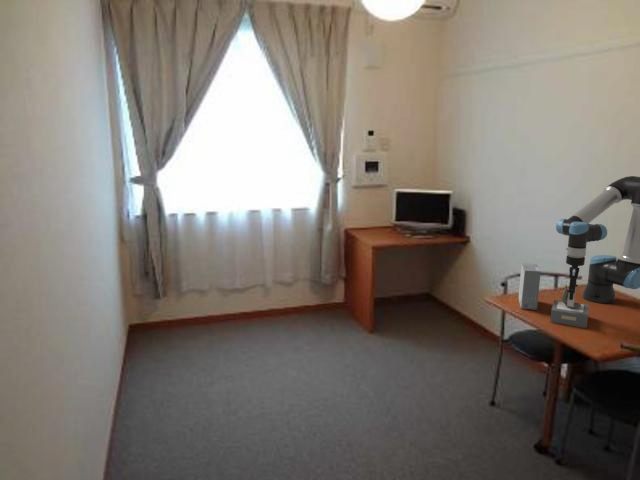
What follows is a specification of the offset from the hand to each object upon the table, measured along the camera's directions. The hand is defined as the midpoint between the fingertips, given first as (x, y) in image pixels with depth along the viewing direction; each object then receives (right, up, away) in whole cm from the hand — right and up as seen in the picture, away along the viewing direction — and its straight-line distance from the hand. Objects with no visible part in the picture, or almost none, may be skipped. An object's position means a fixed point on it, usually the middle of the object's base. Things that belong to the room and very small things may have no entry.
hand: (570, 302), depth 235 cm
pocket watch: (0, -2, +1) cm, 2 cm away
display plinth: (0, -8, +2) cm, 8 cm away
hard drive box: (-11, -4, +22) cm, 25 cm away
